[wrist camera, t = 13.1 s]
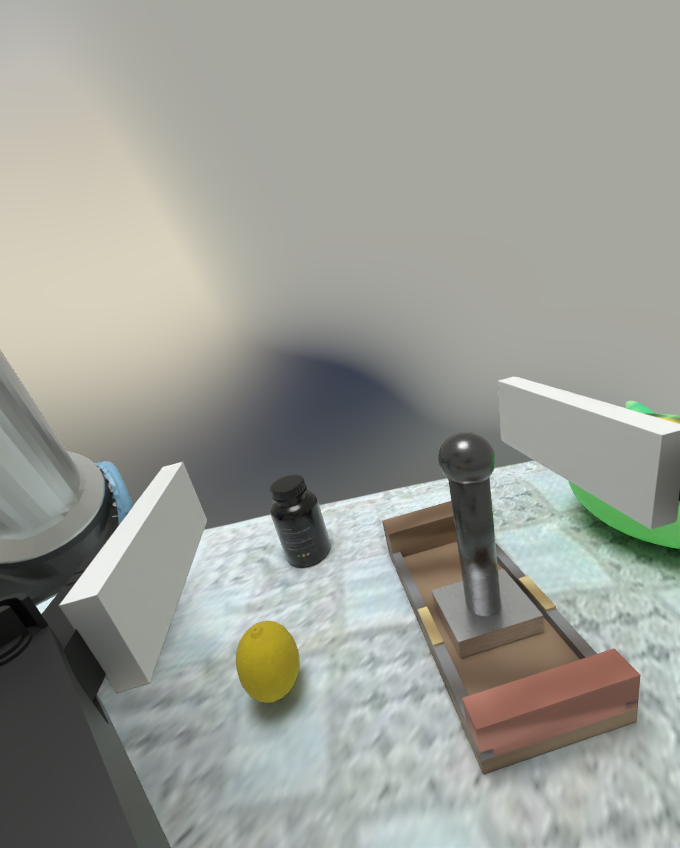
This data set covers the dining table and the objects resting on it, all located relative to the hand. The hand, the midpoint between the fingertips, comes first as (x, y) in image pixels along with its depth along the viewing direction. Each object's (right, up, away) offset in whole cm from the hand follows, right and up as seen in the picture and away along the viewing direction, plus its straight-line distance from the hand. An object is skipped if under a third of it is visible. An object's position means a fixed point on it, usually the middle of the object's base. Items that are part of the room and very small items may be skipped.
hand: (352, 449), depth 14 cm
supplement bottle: (-5, -18, +38) cm, 42 cm away
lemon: (-6, -25, +19) cm, 32 cm away
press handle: (+14, -18, +20) cm, 30 cm away
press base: (+14, -19, +22) cm, 32 cm away
